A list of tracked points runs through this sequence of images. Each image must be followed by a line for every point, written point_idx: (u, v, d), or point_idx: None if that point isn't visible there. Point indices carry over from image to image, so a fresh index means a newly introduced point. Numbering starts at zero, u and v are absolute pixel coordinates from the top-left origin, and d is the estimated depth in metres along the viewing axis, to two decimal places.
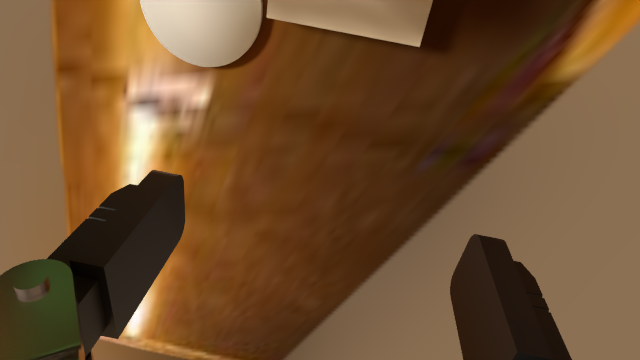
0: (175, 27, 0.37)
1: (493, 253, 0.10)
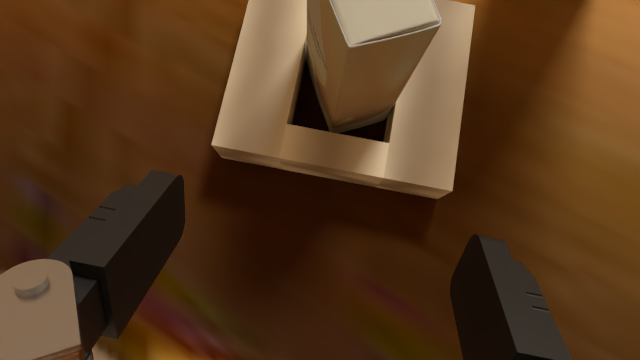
0: None
1: (493, 253, 0.10)
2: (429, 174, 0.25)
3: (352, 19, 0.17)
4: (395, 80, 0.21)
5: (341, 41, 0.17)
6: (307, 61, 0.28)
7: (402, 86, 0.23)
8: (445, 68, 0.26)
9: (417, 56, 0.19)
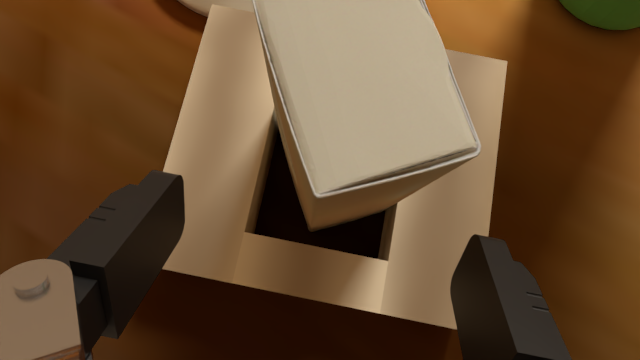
0: None
1: (493, 253, 0.10)
2: (444, 308, 0.17)
3: (323, 144, 0.09)
4: (398, 196, 0.14)
5: (305, 177, 0.10)
6: None
7: (408, 195, 0.15)
8: None
9: (434, 179, 0.12)
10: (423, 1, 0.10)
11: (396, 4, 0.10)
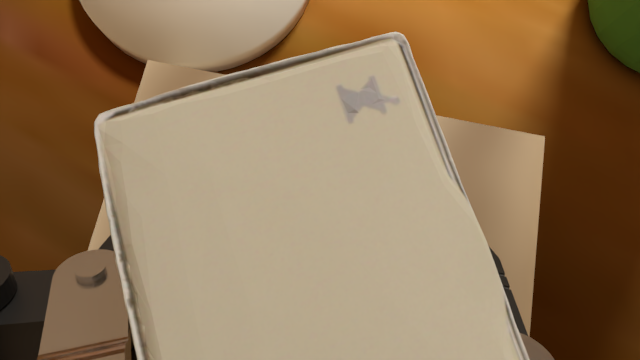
0: None
1: None
2: None
3: None
4: None
5: None
6: None
7: None
8: None
9: None
10: (450, 158, 0.05)
11: (396, 173, 0.05)
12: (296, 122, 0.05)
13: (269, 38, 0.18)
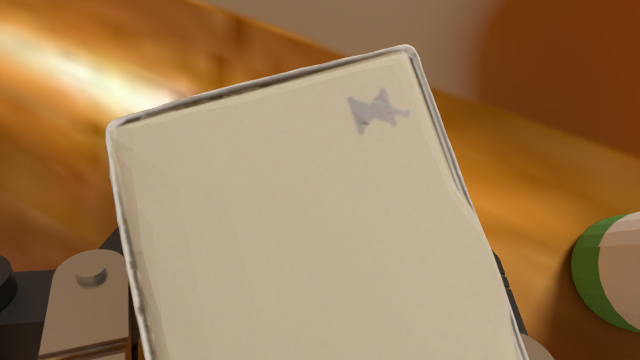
0: None
1: None
2: None
3: None
4: None
5: None
6: None
7: None
8: None
9: None
10: (458, 171, 0.05)
11: (405, 186, 0.05)
12: (307, 133, 0.05)
13: None
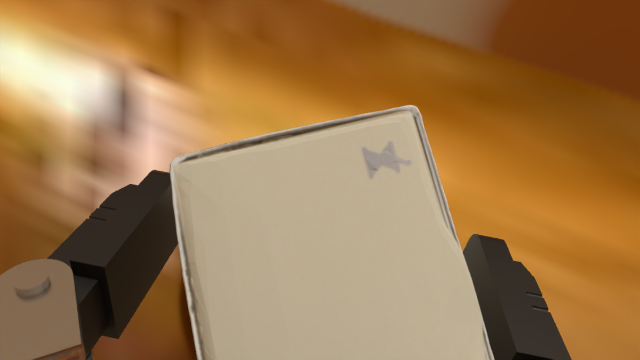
0: None
1: (493, 253, 0.10)
2: None
3: None
4: None
5: None
6: None
7: None
8: None
9: None
10: (448, 210, 0.06)
11: (404, 221, 0.06)
12: (328, 175, 0.06)
13: None
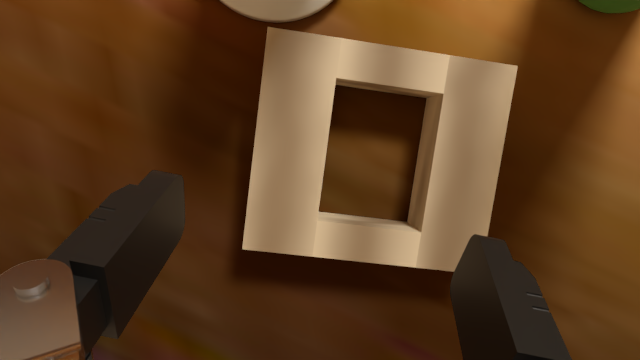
0: None
1: (493, 253, 0.10)
2: None
3: None
4: None
5: None
6: None
7: None
8: (481, 146, 0.25)
9: None
10: None
11: None
12: None
13: None
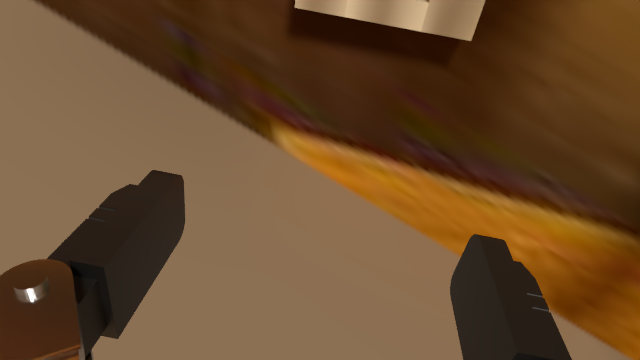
0: None
1: (493, 253, 0.10)
2: (456, 28, 0.33)
3: None
4: None
5: None
6: None
7: None
8: None
9: None
10: None
11: None
12: None
13: None
